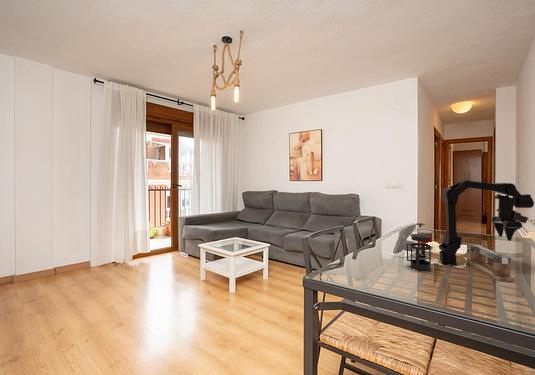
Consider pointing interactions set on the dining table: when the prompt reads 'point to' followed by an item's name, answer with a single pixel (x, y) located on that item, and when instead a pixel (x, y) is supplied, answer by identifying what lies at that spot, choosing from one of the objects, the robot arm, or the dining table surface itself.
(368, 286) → the dining table surface
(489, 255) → the steel bar
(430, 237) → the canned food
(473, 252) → the hook rack
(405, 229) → the phone holder
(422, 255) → the french press
